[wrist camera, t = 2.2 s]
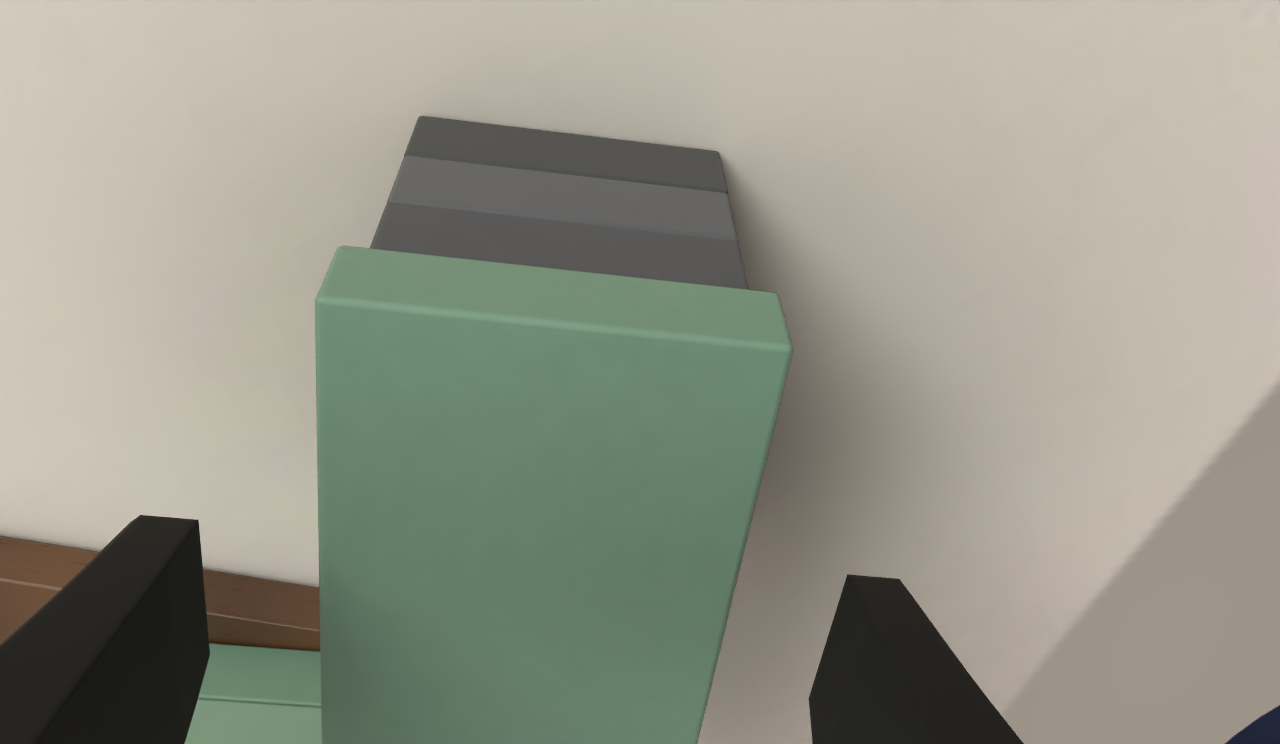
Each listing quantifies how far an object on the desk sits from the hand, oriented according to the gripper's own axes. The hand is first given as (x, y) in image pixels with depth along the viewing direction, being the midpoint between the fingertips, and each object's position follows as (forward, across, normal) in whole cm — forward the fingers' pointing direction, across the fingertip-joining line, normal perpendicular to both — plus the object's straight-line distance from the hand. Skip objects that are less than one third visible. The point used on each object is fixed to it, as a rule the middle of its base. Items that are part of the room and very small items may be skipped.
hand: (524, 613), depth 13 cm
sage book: (+2, 0, 0) cm, 2 cm away
